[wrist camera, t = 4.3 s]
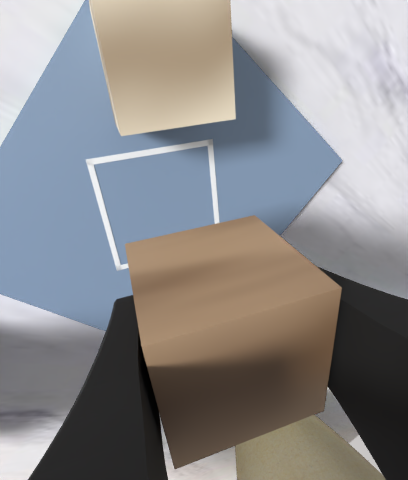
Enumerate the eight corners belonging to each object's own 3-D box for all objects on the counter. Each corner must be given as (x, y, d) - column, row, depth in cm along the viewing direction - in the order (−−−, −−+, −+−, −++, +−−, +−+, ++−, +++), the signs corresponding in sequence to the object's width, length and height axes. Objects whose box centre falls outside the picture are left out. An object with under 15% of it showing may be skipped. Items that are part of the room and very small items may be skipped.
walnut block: (256, 313, 13) (323, 410, 9) (150, 345, 12) (174, 469, 8) (254, 215, 11) (342, 287, 7) (124, 244, 10) (142, 347, 6)
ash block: (202, 110, 16) (235, 119, 12) (115, 123, 15) (121, 136, 11) (192, 3, 14) (228, -28, 10) (90, 10, 13) (86, -22, 9)
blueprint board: (177, 351, 24) (179, 357, 23) (-65, 263, 16) (-71, 269, 15) (336, 158, 20) (343, 160, 20) (128, -72, 13) (130, -79, 12)
